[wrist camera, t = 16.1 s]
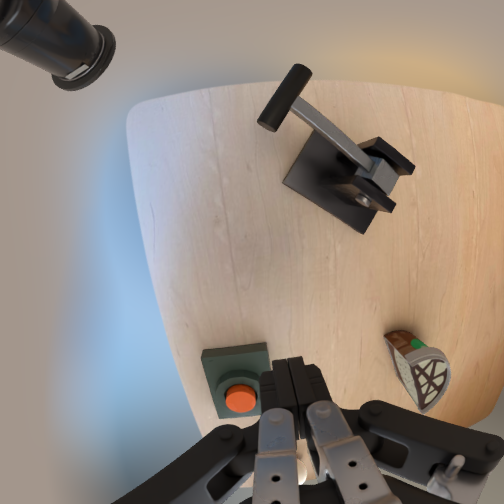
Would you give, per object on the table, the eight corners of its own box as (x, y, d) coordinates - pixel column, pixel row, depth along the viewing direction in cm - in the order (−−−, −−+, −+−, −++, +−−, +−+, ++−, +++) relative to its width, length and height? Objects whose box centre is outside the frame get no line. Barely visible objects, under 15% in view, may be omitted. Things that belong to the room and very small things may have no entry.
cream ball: (260, 460, 45) (261, 487, 38) (293, 447, 44) (297, 474, 37) (278, 474, 46) (281, 498, 39) (310, 461, 45) (315, 486, 39)
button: (223, 385, 36) (222, 393, 35) (253, 382, 36) (253, 390, 34) (229, 406, 37) (228, 413, 35) (257, 403, 37) (257, 411, 35)
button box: (202, 349, 39) (198, 365, 35) (266, 342, 39) (268, 357, 35) (220, 410, 42) (218, 426, 38) (275, 404, 41) (278, 420, 37)
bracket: (281, 183, 34) (300, 179, 22) (317, 123, 33) (352, 92, 20) (360, 233, 36) (409, 255, 23) (392, 176, 34) (450, 174, 22)
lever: (251, 121, 20) (263, 120, 18) (288, 66, 19) (303, 60, 17) (363, 204, 26) (380, 211, 24) (389, 158, 25) (407, 161, 23)
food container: (427, 362, 41) (456, 394, 31) (398, 380, 41) (423, 416, 31) (414, 307, 38) (450, 336, 28) (380, 328, 39) (411, 363, 29)
